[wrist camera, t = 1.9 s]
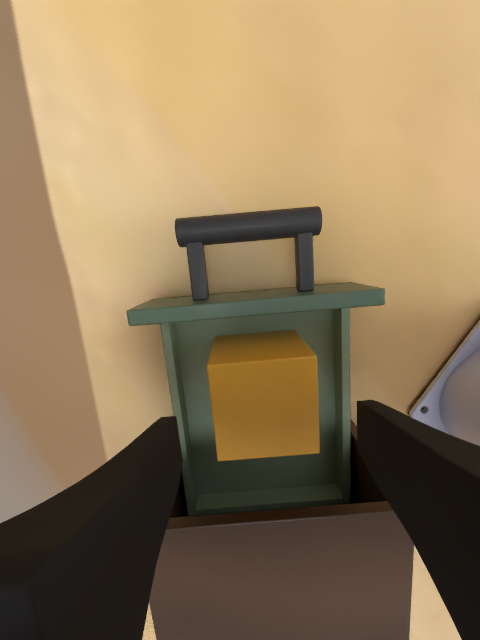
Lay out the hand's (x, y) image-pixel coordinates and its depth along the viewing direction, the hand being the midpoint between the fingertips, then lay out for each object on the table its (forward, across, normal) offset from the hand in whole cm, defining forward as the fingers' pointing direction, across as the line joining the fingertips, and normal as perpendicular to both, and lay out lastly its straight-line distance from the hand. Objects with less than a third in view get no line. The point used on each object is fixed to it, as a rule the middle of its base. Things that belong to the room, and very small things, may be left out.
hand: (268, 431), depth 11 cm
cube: (+6, 0, 0) cm, 6 cm away
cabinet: (+8, 0, +12) cm, 14 cm away
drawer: (+7, 0, 0) cm, 7 cm away
